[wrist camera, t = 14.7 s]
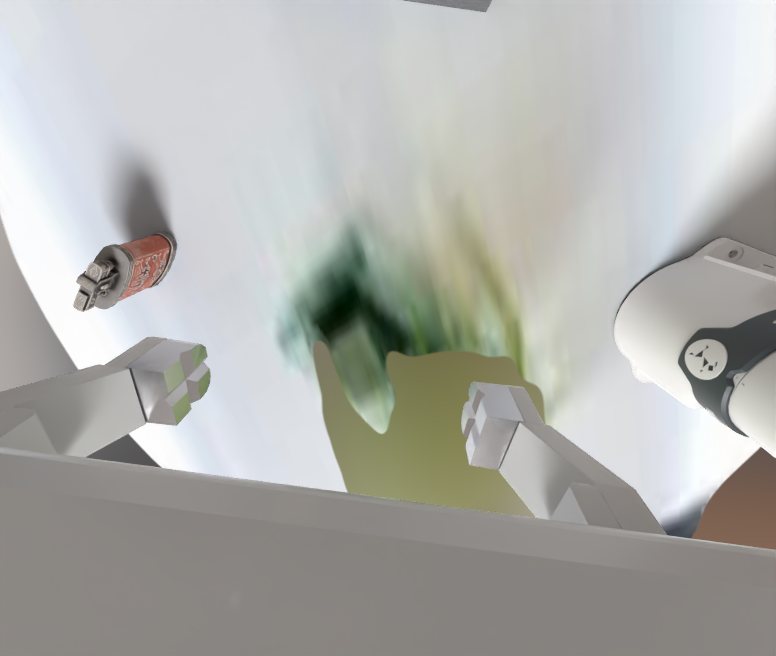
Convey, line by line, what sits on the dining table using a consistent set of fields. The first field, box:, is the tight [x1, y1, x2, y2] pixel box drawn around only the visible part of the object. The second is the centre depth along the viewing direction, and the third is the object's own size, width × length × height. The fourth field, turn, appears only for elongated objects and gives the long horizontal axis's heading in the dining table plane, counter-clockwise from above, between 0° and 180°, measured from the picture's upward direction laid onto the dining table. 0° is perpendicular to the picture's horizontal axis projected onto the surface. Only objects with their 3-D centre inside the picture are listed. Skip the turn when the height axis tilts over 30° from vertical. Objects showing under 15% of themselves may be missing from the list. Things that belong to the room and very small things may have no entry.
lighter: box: [73, 232, 177, 312], centre depth 35 cm, size 8×3×10 cm, turn 140°
